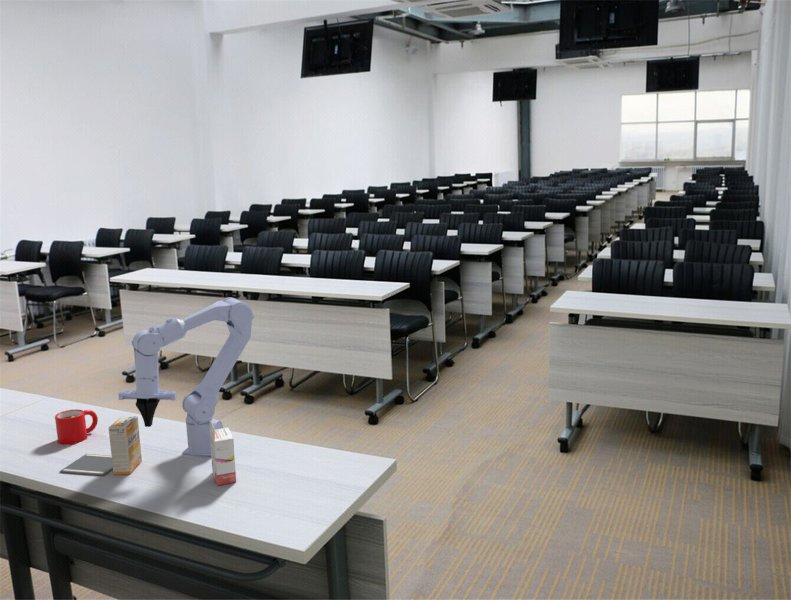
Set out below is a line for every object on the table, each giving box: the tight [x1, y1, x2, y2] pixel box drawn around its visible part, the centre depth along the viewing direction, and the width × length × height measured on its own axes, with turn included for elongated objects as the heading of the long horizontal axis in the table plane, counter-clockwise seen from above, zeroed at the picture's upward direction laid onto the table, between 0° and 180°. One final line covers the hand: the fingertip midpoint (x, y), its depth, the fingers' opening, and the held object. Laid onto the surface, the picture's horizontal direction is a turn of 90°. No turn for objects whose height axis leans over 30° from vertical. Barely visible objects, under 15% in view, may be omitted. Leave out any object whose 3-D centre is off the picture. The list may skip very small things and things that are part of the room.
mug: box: [54, 409, 99, 446], centre depth 205 cm, size 8×12×8 cm, turn 144°
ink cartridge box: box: [210, 420, 237, 486], centre depth 176 cm, size 9×5×15 cm, turn 23°
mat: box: [59, 453, 113, 477], centre depth 186 cm, size 13×11×1 cm
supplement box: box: [108, 415, 143, 475], centre depth 183 cm, size 8×5×13 cm, turn 179°
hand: (148, 425), depth 185 cm, fingers closed
